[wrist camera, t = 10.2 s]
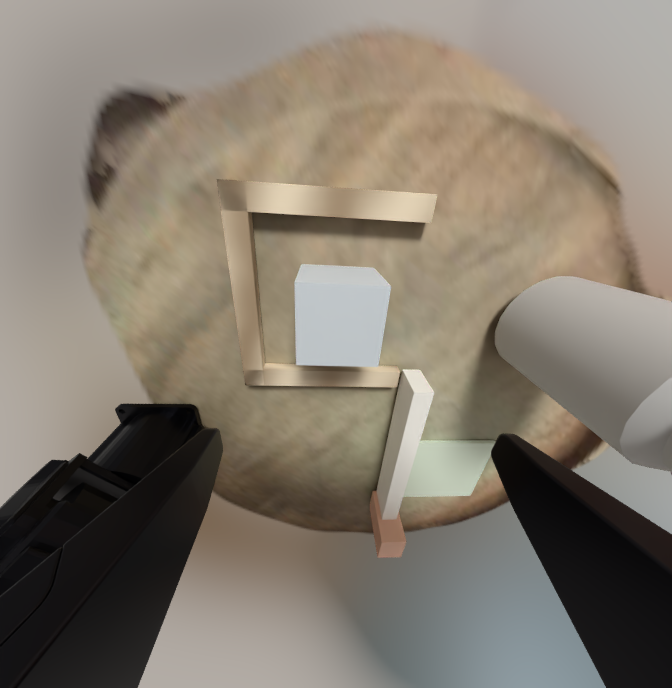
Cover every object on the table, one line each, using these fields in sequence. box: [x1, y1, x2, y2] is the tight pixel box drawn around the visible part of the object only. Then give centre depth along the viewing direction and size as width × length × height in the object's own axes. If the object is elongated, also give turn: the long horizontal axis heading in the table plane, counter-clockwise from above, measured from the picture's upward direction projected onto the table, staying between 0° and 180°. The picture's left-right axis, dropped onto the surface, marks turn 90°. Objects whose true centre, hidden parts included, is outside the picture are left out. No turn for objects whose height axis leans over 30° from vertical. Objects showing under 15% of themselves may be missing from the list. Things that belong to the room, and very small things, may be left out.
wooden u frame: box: [217, 179, 437, 387], centre depth 18 cm, size 12×14×1 cm
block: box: [295, 264, 391, 367], centre depth 16 cm, size 5×5×5 cm
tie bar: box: [369, 369, 434, 558], centre depth 23 cm, size 2×20×5 cm, turn 177°
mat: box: [403, 440, 495, 497], centre depth 28 cm, size 9×9×1 cm
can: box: [495, 276, 672, 474], centre depth 15 cm, size 8×8×12 cm
